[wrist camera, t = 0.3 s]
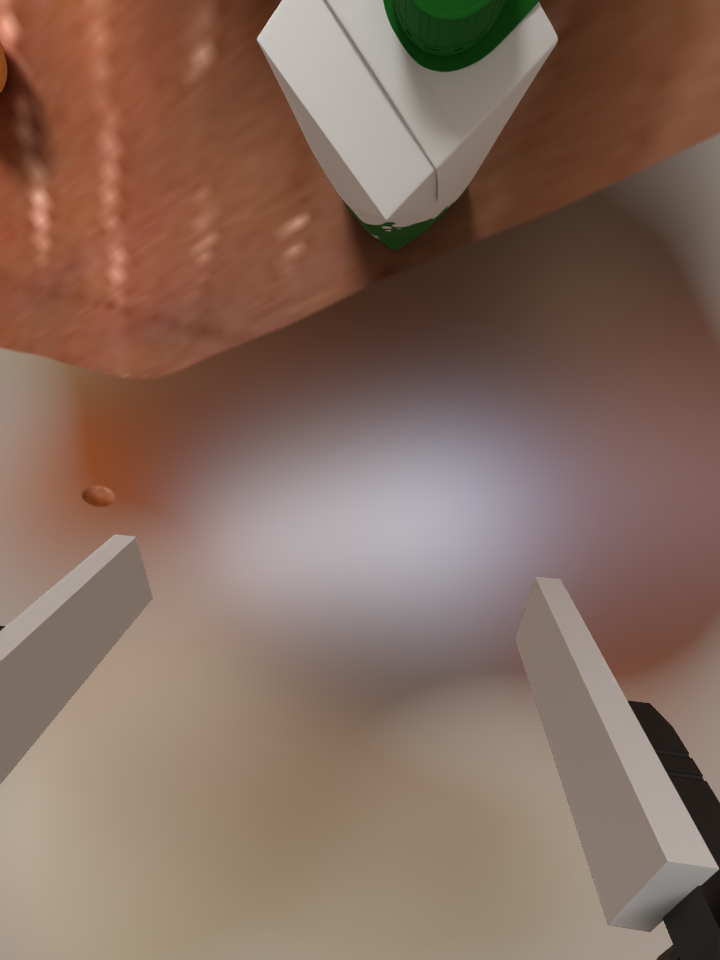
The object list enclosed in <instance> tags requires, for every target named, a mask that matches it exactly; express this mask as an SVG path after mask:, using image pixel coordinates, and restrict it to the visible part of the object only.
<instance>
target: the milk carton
mask: <svg viewBox="0 0 720 960" xmlns="http://www.w3.org/2000/svg"><path fill="white" fill-rule="evenodd" d="M539 1H540V0H282V1H281V3H280V4H279V6H278V7H277V9H276V10H275V12H274V13H273V15H272V16H271V18H270V19H269V21H268V22H267V24H266V25H265V27H264V28H263V30H262V31H261V33H260V34H259V36H258V38H257V42H258V43H259V45H260V47H261V49H262V51H263V53H264V55H265V57H266V59H267V61H268V63H269V65H270V67H271V69H272V71H273V73H274V75H275V77H276V79H277V81H278V83H279V85H280V87H281V89H282V91H283V93H284V95H285V97H286V99H287V101H288V103H289V105H290V107H291V109H292V111H293V113H294V116H295V118H296V120H297V122H298V124H299V126H300V128H301V130H302V132H303V134H304V136H305V138H306V140H307V142H308V144H309V146H310V148H311V150H312V152H313V154H314V155H315V157H316V159H317V160H318V162H319V164H320V166H321V167H322V169H323V171H324V172H325V174H326V175H327V177H328V179H329V180H330V182H331V183H332V185H333V187H334V188H335V190H336V191H337V193H338V194H339V196H340V197H341V199H342V201H343V202H344V204H345V205H346V206H347V208H348V209H349V211H350V212H351V213H352V214H353V216H354V217H355V218H356V219H357V220H358V221H359V223H360V224H361V225H362V226H363V227H364V229H365V230H366V231H367V232H368V233H369V234H371V235H372V236H374V237H375V238H377V239H378V240H380V241H381V242H382V243H384V244H385V245H387V246H388V247H390V248H391V249H393V250H394V251H395V252H396V251H397V250H398V249H400V248H401V247H403V246H404V245H406V244H407V243H409V242H410V241H412V240H413V239H415V238H416V237H418V236H419V235H421V234H422V233H424V232H425V231H426V230H427V229H428V228H430V227H431V226H432V225H433V224H434V223H435V222H436V221H437V220H438V219H439V218H440V217H441V216H442V215H443V214H444V213H445V212H446V211H447V210H448V209H449V208H450V207H451V206H452V205H453V204H454V203H455V202H456V201H457V199H458V198H459V197H460V196H461V195H462V194H463V193H464V191H465V190H466V188H467V187H468V185H469V184H470V182H471V181H472V179H473V177H474V176H475V174H476V173H477V171H478V169H479V168H480V166H481V164H482V163H483V161H484V160H485V158H486V156H487V155H488V153H489V151H490V150H491V148H492V146H493V145H494V143H495V141H496V140H497V138H498V136H499V135H500V133H501V131H502V130H503V128H504V126H505V125H506V123H507V122H508V120H509V118H510V117H511V115H512V113H513V112H514V110H515V109H516V107H517V105H518V104H519V102H520V101H521V99H522V97H523V96H524V94H525V93H526V91H527V89H528V88H529V86H530V85H531V83H532V81H533V80H534V78H535V77H536V75H537V73H538V72H539V70H540V69H541V67H542V65H543V64H544V62H545V61H546V59H547V58H548V56H549V55H550V53H551V52H552V50H553V49H554V47H555V46H556V43H557V41H558V37H557V35H556V33H555V31H554V29H553V27H552V25H551V23H550V21H549V19H548V18H547V16H546V14H545V12H544V10H543V9H542V7H541V5H540V3H539Z"/></svg>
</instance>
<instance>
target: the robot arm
mask: <svg viewBox="0 0 720 960" xmlns="http://www.w3.org/2000/svg"><path fill="white" fill-rule="evenodd" d="M151 600H152V593H151V590H150V586H149V582H148V579H147V575H146V571H145V567H144V564H143V560H142V556H141V552H140V549H139V545H138V541H137V538H136V537H134V536H124V535H114V536H113V537H111V538H110V539H109V540H108V541H107V542H106V543H104V544H103V545H102V546H101V547H99V548H98V549H97V550H96V551H95V552H94V553H92V554H91V555H90V556H89V557H88V558H86V559H85V560H84V561H83V562H82V563H80V564H79V565H78V566H77V567H76V568H74V569H73V570H72V571H71V572H70V573H69V574H68V575H66V576H65V577H64V578H63V579H61V580H60V581H59V582H58V583H57V584H55V585H54V586H53V587H52V588H51V589H50V590H48V591H47V592H46V593H45V594H44V595H42V596H41V597H40V598H39V599H38V600H36V601H35V602H34V603H33V604H32V605H30V606H29V607H28V608H27V609H26V610H25V611H23V612H22V613H21V614H20V615H19V616H18V617H16V618H15V619H14V620H13V621H11V622H10V623H9V624H8V625H7V626H6V627H5V626H0V784H1V783H2V782H3V780H4V779H5V778H6V777H7V776H8V775H9V773H10V772H11V771H12V770H13V768H14V767H15V766H16V765H17V763H18V762H19V761H20V760H21V759H22V757H23V756H24V755H25V754H26V752H27V751H28V750H29V749H30V747H31V746H32V745H33V744H34V743H35V742H36V740H37V739H38V738H39V737H40V735H41V734H42V733H43V731H45V729H46V728H47V727H48V725H49V724H50V723H51V722H52V721H53V720H54V718H55V717H56V716H57V715H58V713H59V712H60V711H61V710H62V709H63V707H64V706H65V705H66V703H67V702H68V701H69V700H70V699H71V697H72V696H73V695H74V694H75V693H76V691H77V690H78V689H79V688H80V686H81V685H82V684H83V683H84V682H85V680H86V679H87V678H88V677H89V676H90V674H91V673H92V672H93V671H94V669H95V668H96V667H97V666H98V664H99V663H100V662H101V661H102V659H103V658H104V657H105V656H106V655H107V653H108V652H109V651H110V650H111V649H112V647H113V646H114V645H115V644H116V642H117V641H118V640H119V639H120V637H121V636H122V635H123V634H124V633H125V631H126V630H127V629H128V628H129V627H130V625H131V624H132V622H134V620H135V619H136V618H137V617H138V616H139V614H140V613H141V612H142V611H143V609H144V608H145V607H146V606H147V604H148V603H149V602H150V601H151ZM515 640H516V643H517V646H518V649H519V652H520V655H521V658H522V661H523V664H524V668H525V671H526V674H527V677H528V680H529V683H530V686H531V689H532V692H533V695H534V698H535V702H536V705H537V708H538V711H539V714H540V717H541V720H542V723H543V726H544V729H545V732H546V735H547V739H548V742H549V745H550V748H551V751H552V754H553V757H554V760H555V763H556V766H557V769H558V773H559V776H560V779H561V782H562V785H563V788H564V791H565V794H566V797H567V801H568V804H569V807H570V810H571V813H572V816H573V819H574V822H575V825H576V828H577V831H578V834H579V838H580V841H581V844H582V847H583V850H584V853H585V856H586V859H587V862H588V865H589V869H590V872H591V874H592V878H593V881H594V884H595V887H596V890H597V893H598V896H599V899H600V903H601V906H602V909H603V911H604V915H605V918H606V921H607V924H608V925H610V926H616V927H623V928H629V929H635V930H641V931H648V932H651V931H652V930H653V929H654V928H655V927H656V926H657V925H658V924H659V923H660V922H662V921H664V923H665V925H666V928H667V930H668V933H669V935H670V938H671V940H672V942H673V945H672V946H671V947H670V948H669V949H667V950H666V951H665V952H664V953H663V954H661V955H660V956H659V957H658V958H657V960H720V803H719V801H718V800H717V798H716V796H715V794H714V793H713V791H712V790H711V788H710V786H709V785H708V783H707V781H704V780H703V777H702V776H703V775H702V774H701V772H700V770H699V769H698V767H697V765H696V764H695V762H694V761H693V759H692V758H690V757H689V752H688V751H687V749H686V748H685V746H684V744H683V743H682V741H681V740H680V738H679V736H678V735H677V733H676V732H675V730H674V728H673V727H672V726H671V725H670V724H669V723H668V722H667V721H666V720H665V719H664V717H663V716H662V715H661V714H660V713H659V712H658V711H657V710H656V709H655V708H654V707H653V706H652V705H651V704H650V703H643V702H634V701H627V700H626V698H625V696H624V694H623V692H622V691H621V689H620V687H619V685H618V683H617V681H616V680H615V678H614V676H613V674H612V672H611V670H610V669H609V667H608V665H607V663H606V661H605V660H604V658H603V656H602V654H601V652H600V650H599V649H598V647H597V645H596V643H595V641H594V639H593V638H592V636H591V634H590V632H589V630H588V629H587V627H586V625H585V623H584V621H583V619H582V618H581V616H580V614H579V612H578V610H577V609H576V607H575V605H574V603H573V601H572V600H571V597H570V596H569V594H568V592H567V590H566V588H565V587H564V585H563V583H562V581H561V579H554V578H544V577H535V579H534V582H533V585H532V589H531V591H530V594H529V598H528V601H527V604H526V607H525V610H524V613H523V616H522V619H521V622H520V625H519V628H518V631H517V635H516V638H515Z"/></svg>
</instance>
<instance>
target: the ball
mask: <svg viewBox="0 0 720 960" xmlns="http://www.w3.org/2000/svg"><path fill="white" fill-rule="evenodd" d="M6 80H7V62H6V58H5V54H4V51H3V48H2V45H1V43H0V93H1V91H2V90H3V88H4V86H5V83H6Z"/></svg>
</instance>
